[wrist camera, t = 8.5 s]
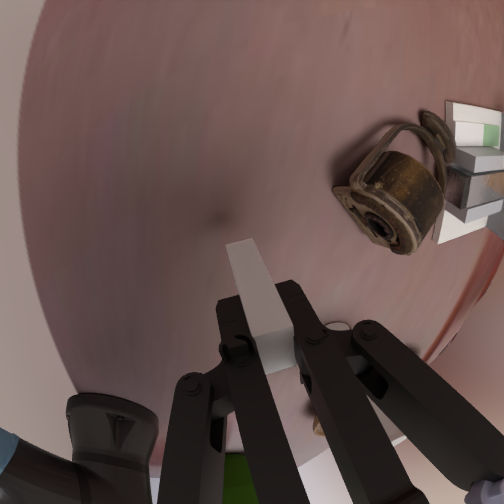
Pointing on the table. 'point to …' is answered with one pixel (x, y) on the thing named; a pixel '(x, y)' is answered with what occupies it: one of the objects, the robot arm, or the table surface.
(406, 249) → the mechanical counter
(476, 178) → the grey metal bar
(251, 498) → the vase
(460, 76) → the table surface
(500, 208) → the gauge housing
